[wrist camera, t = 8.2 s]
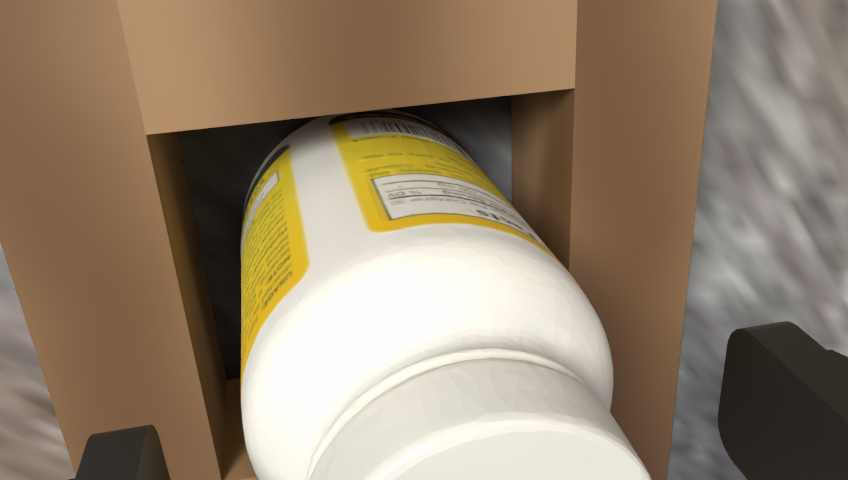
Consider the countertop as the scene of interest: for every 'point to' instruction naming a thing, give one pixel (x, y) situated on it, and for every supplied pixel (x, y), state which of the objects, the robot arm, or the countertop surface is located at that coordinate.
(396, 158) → the supplement bottle
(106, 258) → the socket block
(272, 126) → the countertop surface
